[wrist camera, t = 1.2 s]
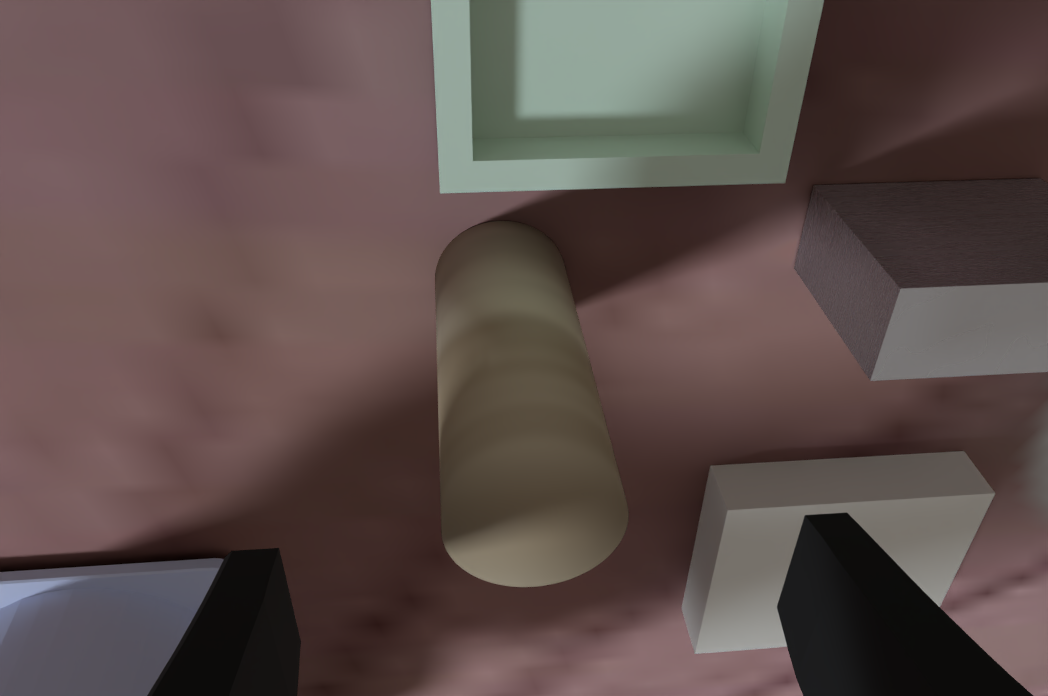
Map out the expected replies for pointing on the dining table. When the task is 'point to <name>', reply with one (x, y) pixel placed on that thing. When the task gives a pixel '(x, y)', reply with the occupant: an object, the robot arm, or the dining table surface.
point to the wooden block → (932, 275)
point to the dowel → (519, 415)
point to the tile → (821, 488)
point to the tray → (618, 92)
